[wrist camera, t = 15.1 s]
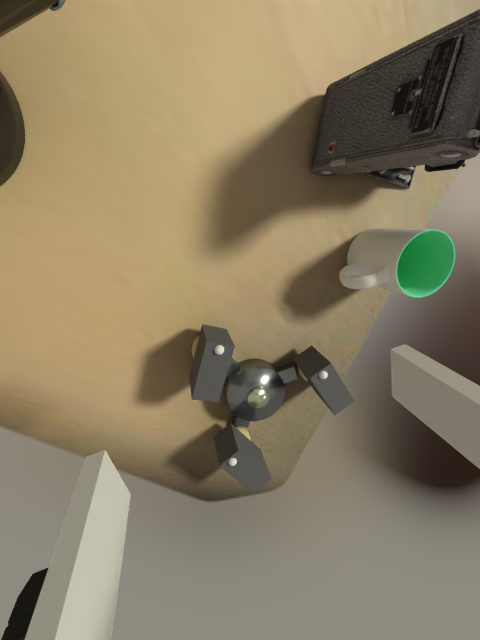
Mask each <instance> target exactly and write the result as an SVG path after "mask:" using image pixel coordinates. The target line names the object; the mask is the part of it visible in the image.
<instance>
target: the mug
mask: <svg viewBox="0 0 480 640" xmlns="http://www.w3.org/2000/svg"><path fill="white" fill-rule="evenodd" d="M454 261H455V248H454V244H453V242H452V240H451V238H450V237H449V236H448V235H447V234H446V233H445V232H443V231H440V230H435V229H405V228H369V229H366V230H364V231H363V232H361V233H360V234H359V235H357V236H356V238H355V239H354V240H353V242H352V243H351V245H350V247H349V250H348V255H347V264H348V266H346V267H344V268H343V269H342V270H341V271H340V273H339V278H340V281H341V283H342V285H343V286H345V287H347V288H351V289H367V288H371V287H374V286H379V287H383V288H386V289H389V290H392V291H395V292H399V293H402V294H405V295H408V296H411V297H416V298H419V297H425V296H428V295H430V294H432V293H434V292H435V291H437V290H438V289H439V288H440V287H441V286H442V285H443V284H444V283H445V282H446V280H447V279H448V277H449V275H450V274H451V271H452V269H453V266H454ZM351 276H354V277H351Z"/></svg>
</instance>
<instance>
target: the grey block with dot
mask: <svg viewBox="0 0 480 640" xmlns="http://www.w3.org/2000/svg"><path fill="white" fill-rule="evenodd" d="M234 347H235V346H234V344H233V342H232V340H231V337H230V335H229V333H228V331H227V329H223V328H218V327H212V326H207V325H202V327H201V331H200V335H199V336H197V337H196V338H195V339H194V341H193V343H192V346H191V349H192V356H193V359H194V360H193V364H192V368H191V372H190V386H191V396H192V399H193V400H202V401H211V402H219V400H220V396H221V392H222V389H223V385H224V382H225V378H226V375H227V371H228V368H229V364H230V361H231V357H232V354H233V350H234Z"/></svg>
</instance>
